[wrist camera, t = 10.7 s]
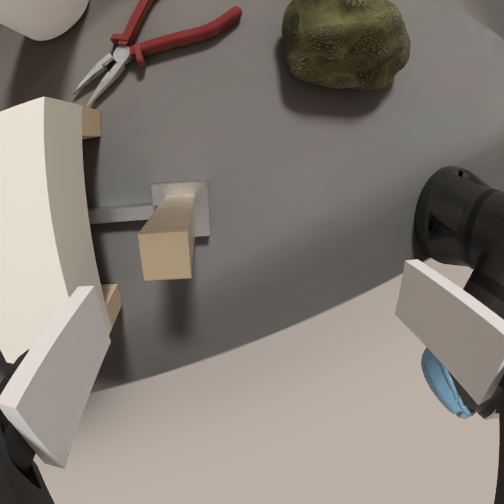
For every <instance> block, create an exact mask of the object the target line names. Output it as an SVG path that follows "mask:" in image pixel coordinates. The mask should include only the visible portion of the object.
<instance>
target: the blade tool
mask: <svg viewBox="0 0 504 504" xmlns="http://www.w3.org/2000/svg"><path fill="white" fill-rule="evenodd" d="M152 200H153V203H147V204H135V205H123V206H112V207H102V208H92V209H88V217H89V224H98V223H110V222H122V221H135V220H148V221H147V222H146V224H145V225H144V226H143V228H142V229H141V231H140V232H139V234H138V239H139V247H140V254H141V261H142V268H143V275H144V281H145V280H166V279H186V278H191V277H192V264H193V253H194V241H195V237H197V236H210V234H209V211H208V181H207V180H193V181H176V182H162V183H153V184H152Z"/></svg>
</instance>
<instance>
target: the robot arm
mask: <svg viewBox="0 0 504 504" xmlns="http://www.w3.org/2000/svg"><path fill="white" fill-rule="evenodd" d="M416 234H417V239H418V242H419V244H420V246H421V248H422V250H423V251H424V252H425V253H426V254H427V255H428V256H429V257H431V258H433V259H434V260H436V261H438V262H440V263H443V264H451V265H459V266H467V267H470V268H472V269H474V270H473V272H472V274H471V277H470V278H469V280H468V281H467V283H466V285H465V287H464V289H461V288H460V287H458V286H457V285H456V284H454V283H453V282H451V281H450V280H448V279H447V278H445V277H444V276H442V275H441V274H440V273H438V272H437V271H435V270H434V269H432V268H430V267H429V266H427V265H426V264H424V263H423V262H421V261H420V260H418V259H415V260H406V261H405V264H404V271H403V277H402V282H401V288H400V293H399V298H398V303H397V308H396V312H395V314H396V315H397V316H398V317H399V318H400V319H401V320H402V321H403V323H404V324H405V325H406V326H407V327H408V328H409V329H410V330H411V331H412V332H413V333H414V334H415V335H416V336H417V337H418V338H419V339H420V340H421V341H422V343H424V345H425V346H426V347H427V348H426V349H425V351H424V353H423V355H422V361H421V365H422V370H423V373H424V377H425V379H426V381H427V383H428V385H429V387H430V388H431V390H432V391H433V393H434V394H435V396H436V397H437V398H438V399H439V401H440V402H441V403H442V404H443V405H444V406H445V407H446V408H447V409H448V410H449V411H450V412H451V413H453V414H456V415H457V416H458V417H460V418H463V419H465V418H468V417H470V416H473V415H474V413H475V412H477V413H478V414H479V415H481V417H482V418H484V419H485V420H488V419H493V418H498V417H499V419H500V420H499V421H500V446H499V467H498V478H497V487H496V495H495V502H494V504H504V192H502V191H499V190H496V189H493V188H491V187H490V186H489V185H487V184H486V183H485V182H483V181H482V180H481V179H480V178H478V177H477V176H476V175H474V174H473V173H472V172H470V171H468V170H466V169H463V168H459V167H454V166H448V167H444V168H442V169H440V170H438V171H437V172H436V173H435V174H433V175H432V177H431V178H430V179H429V180H428V182H427V183H426V185H425V187H424V189H423V191H422V193H421V196H420V198H419V202H418V206H417V211H416ZM110 343H111V341H110V338H109V335H108V332H107V328H106V325H105V322H104V319H103V315H102V312H101V309H100V305H99V302H98V298H97V294H96V290H95V287H94V286H79V287H78V288H77V289H76V290H75V291H74V293H73V294H72V295H71V296H70V297H69V299H68V300H67V301H66V302H65V304H64V305H63V306H62V307H61V309H60V310H59V311H58V313H57V314H56V315H55V316H54V318H53V319H52V320H51V322H50V323H49V324H48V326H47V327H46V328H45V330H44V331H43V332H42V334H41V335H40V336H39V338H38V339H37V340H36V342H35V343H34V345H33V346H32V348H31V349H28V350H27V351H25V352H24V353H23V354H22V355H20V356H19V357H18V358H17V360H16V361H15V363H14V364H13V365H12V367H11V370H9V371H8V373H7V374H6V378H4V379H3V380H2V382H1V384H0V504H54V502H53V500H52V498H51V496H50V494H49V491H48V489H47V487H46V485H45V483H44V480H43V478H42V476H41V473H40V471H39V469H38V466H37V465H36V464H35V462H34V461H33V458H34V455H35V453H36V454H37V455H38V456H39V457H40V458H41V459H42V461H43V462H44V463H46V464H49V465H53V466H56V467H60V468H65V466H66V463H67V459H68V456H69V453H70V450H71V446H72V443H73V440H74V437H75V434H76V431H77V428H78V425H79V422H80V419H81V416H82V414H83V411H84V408H85V405H86V403H87V400H88V397H89V394H90V392H91V389H92V387H93V384H94V382H95V379H96V376H97V374H98V372H99V369H100V367H101V364H102V362H103V359H104V357H105V355H106V352H107V350H108V348H109V345H110Z"/></svg>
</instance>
